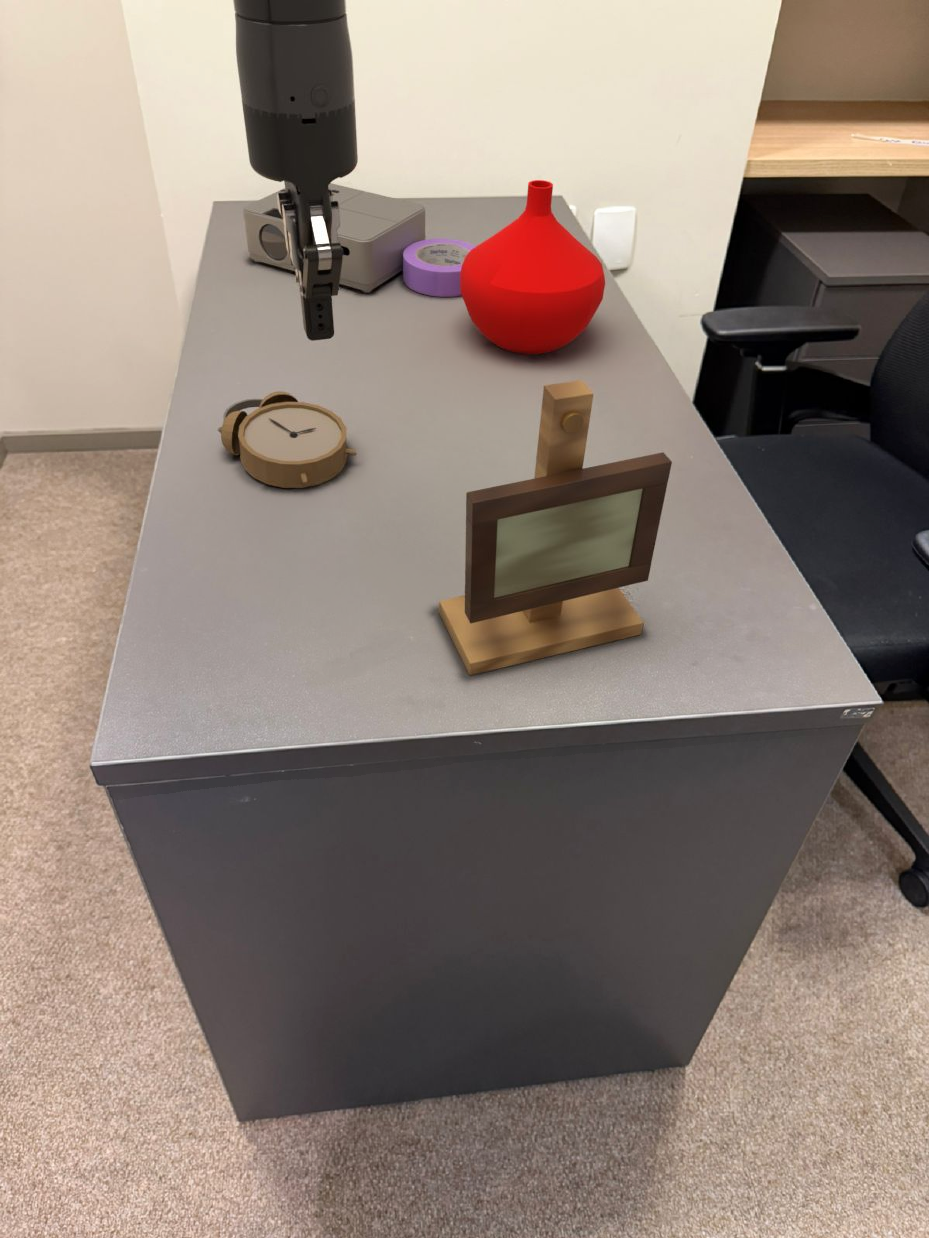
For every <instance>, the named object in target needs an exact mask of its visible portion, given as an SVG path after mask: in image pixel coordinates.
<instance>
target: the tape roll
mask: <svg viewBox="0 0 929 1238" xmlns="http://www.w3.org/2000/svg"><path fill="white" fill-rule="evenodd" d="M476 246H477V245H475V244H472V243H470V242H467V241H464V240H461V239H453V238H429V239H428V238H427V239H425V240H422V241H418V242H415V243H413V244H411V245H409V246H408V247H407V248H406V249H405V250H404V252H403V270H402V279H403V283H404V284H405V286H406V287H408V288H409V289H410V290H412V291H413V292H414V291H415V292H416V293H418V294H422V295H425V296H430V297H437V298H455V297H462V294H461V292H460V273H461V267H462V264H463V262H464V259H465V257H466V255H467V254H468V253H469V252H470V251H471V250H472V249H473V248H475V247H476Z"/></svg>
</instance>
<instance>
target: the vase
mask: <svg viewBox="0 0 929 1238" xmlns="http://www.w3.org/2000/svg"><path fill="white" fill-rule="evenodd" d="M553 190H554V184H553V183H552V182H551V181H548V180H543V179H535V180H530V181H529V182H528V183H527V193H526V204H525V209H524V210H523V212H522V213H521V214H520V215H519V217H517V218H516V219H515V220H513V221H512V222H510V223H508V225H506V226H504V227H503V228H502V229H500V230H499V231H498V232H496V233H495V234H494V235H492V236H490V237H488V238H487V239H485V240H484V241H483V242H481V243H479V244H478V245H475V246H476V247H475V248H473V249H472V250H471V251H470V252H469V253H468V254H467V255H466V257H465V259H464V262H463V264H462V267H461V273H460V292H461V294H462V296H461V297H462V299H463V302H464V305H465V307H466V311H467V313H468V315H469V318H470V319H471V321H472V323H473V324H474V325H475V327H476V328H477V329H478V331H479V332H480V333H481V334H482V335H483V336H484V337H485V338H486V339H487V340H489V341H490V342H491V343H492V344H494V345H496V346H497V347H499V348H501V349H503V350H506V351H509V352H512V353H517V354H523V355H540V354H541V355H542V354H547V353H552V352H554V351H556V350H558V349H561V348H563V347H564V346H566V345H568V344H570V343H571V342H572V341H574V340H575V339H576V338H577V337H578V336H580V334H581V333H583V331H584V330H585V329H587V327H588V326H589V324H590V322H591V321H592V319H593V318H594V316H595V314H596V312H597V311H598V309H599V307H600V305H601V303H602V301H603V299H604V294H605V288H606V277H605V272H604V268H603V263H602V262H601V261H600V260H599V258H598V257H597V255H595V254H594V253H593V252H592V251H591V250H589V249H588V248H587V247H586V246H585V245H584V244H583V243H581V242H580V241H579V240H578V239H577V238H576V237H575V236H573V235H572V233H571V232H569V230H567V229H566V228H565V227H564V226H563V225H562V224H561V223H560V222H559V221H558V220H557V218H556V217H555V215H554V213H553V211H552V201H553Z"/></svg>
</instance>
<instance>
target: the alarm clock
mask: <svg viewBox="0 0 929 1238" xmlns="http://www.w3.org/2000/svg"><path fill="white" fill-rule="evenodd" d="M249 408H256V409H255V410H253V411H252V412H250V413H249V414H248V413H247V411H245V409H249ZM222 417H223V421H222V425H221V426H220V427H218V428H217V431H218V432H219V433H220V439H221V440H220V441H221V443H222V446H223V447H224V449H225V450H226V451H227V452H228V453H230V454H232V455H235V456H239V455H240V456H239V457H240V461H241V464H242V466H243V469H244V470H245V471H246V472H247V473H248V474H250V476H251V477H252V478H253V479H255V480H257V481H260V482H262V483H263V484H265V485H268V486H273V487H278V488H284V489H304V488H308V487H315V486H319V485H322V484H323V483H325V482H328V481H331V480H333V478H335V477H336V476H337V475H338V474H340V473H341V472H342V471H343V469H344V467H345V465H346V463H347V456H357V451H356V450H354V449H351V448H347V427H346V425H345V423H344V421H343V420H342V418H340V416H339V415H337V414H336V413H335V412H333V411H332V410H330V409H328V408H325V407H324V406H321V405H319V404H313V403H309V402H305V401H298V399H297V398H296V397H295V396H293V394H291V393H289V392H285V391H274V392H270V393H269V394H267V395H266V396H264V398H247V399H242V400H240V401H237V402H235V403H233V404H231V405H230V406H229V407H227V408H226V409H225V410H224V412H223V416H222Z"/></svg>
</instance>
